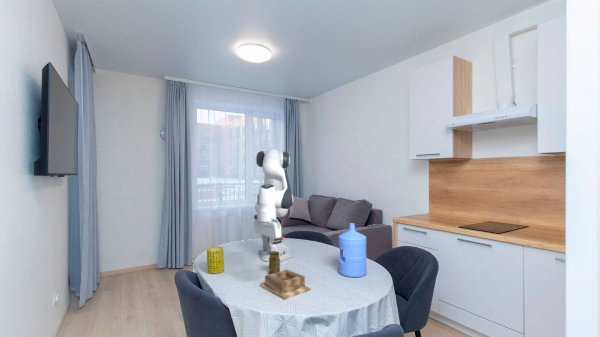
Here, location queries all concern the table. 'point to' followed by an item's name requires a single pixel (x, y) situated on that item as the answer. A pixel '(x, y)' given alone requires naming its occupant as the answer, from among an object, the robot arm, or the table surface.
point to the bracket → (265, 247)
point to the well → (285, 284)
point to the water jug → (352, 253)
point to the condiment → (274, 262)
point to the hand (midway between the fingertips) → (267, 244)
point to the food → (215, 259)
